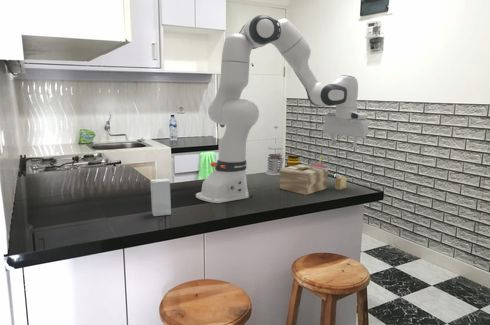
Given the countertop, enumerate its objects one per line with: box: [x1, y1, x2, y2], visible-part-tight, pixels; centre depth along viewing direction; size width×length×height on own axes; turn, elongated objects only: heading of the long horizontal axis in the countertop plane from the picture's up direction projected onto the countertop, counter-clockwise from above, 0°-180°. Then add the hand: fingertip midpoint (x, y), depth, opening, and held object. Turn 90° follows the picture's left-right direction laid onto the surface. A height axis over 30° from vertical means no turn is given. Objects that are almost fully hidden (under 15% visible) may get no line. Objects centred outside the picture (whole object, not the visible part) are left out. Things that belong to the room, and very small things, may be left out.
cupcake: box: [310, 153, 327, 168], centre depth 187 cm, size 9×8×12 cm
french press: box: [265, 125, 284, 176], centre depth 191 cm, size 10×12×25 cm
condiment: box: [286, 154, 300, 167], centre depth 182 cm, size 7×8×12 cm
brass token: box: [334, 176, 348, 191], centre depth 166 cm, size 5×2×5 cm, turn 135°
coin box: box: [279, 163, 329, 196], centre depth 164 cm, size 16×14×9 cm
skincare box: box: [149, 178, 172, 217], centre depth 125 cm, size 6×4×12 cm
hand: (343, 145), depth 163 cm, fingers open, 8 cm apart
